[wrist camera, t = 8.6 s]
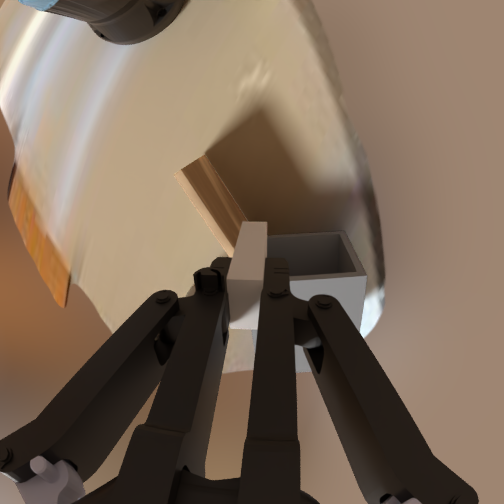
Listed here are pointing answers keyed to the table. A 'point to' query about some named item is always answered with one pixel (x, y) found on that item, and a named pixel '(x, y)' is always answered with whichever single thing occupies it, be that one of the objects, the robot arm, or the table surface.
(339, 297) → the grey open box
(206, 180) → the wooden cabinet door
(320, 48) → the table surface
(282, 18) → the table surface
